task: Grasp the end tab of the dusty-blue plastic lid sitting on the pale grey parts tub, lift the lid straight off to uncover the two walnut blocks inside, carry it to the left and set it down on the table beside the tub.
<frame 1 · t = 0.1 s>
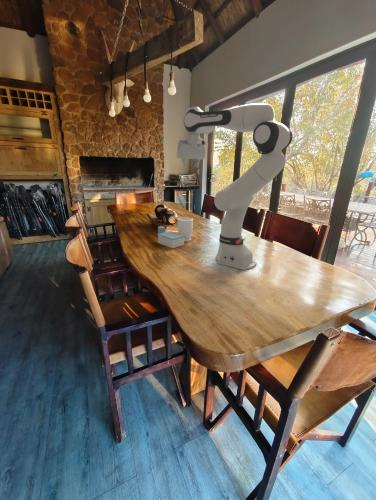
hand: (191, 167, 136), 48 cm above the table, fingers open, 8 cm apart
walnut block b: (168, 242, 156), point 1 cm above the table, touching tub
lid: (171, 235, 152), point 6 cm above the table, touching tub
jar: (185, 240, 164), on the table
tub: (171, 244, 154), on the table
walnut block a: (174, 245, 152), point 1 cm above the table, touching tub
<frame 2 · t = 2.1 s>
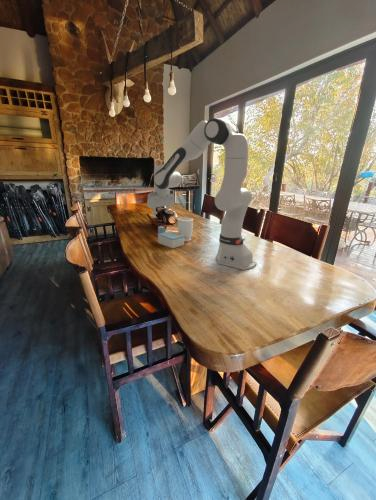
hand: (161, 213, 153), 19 cm above the table, fingers open, 8 cm apart
nothing on the table moved.
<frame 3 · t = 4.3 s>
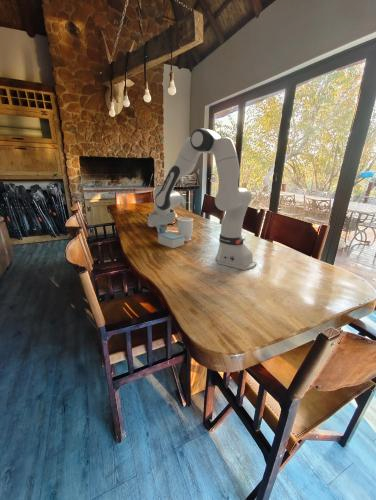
hand: (161, 231, 158), 7 cm above the table, fingers closed on lid, 3 cm apart
lid: (171, 235, 152), point 6 cm above the table, touching gripper, tub
everything else where it was.
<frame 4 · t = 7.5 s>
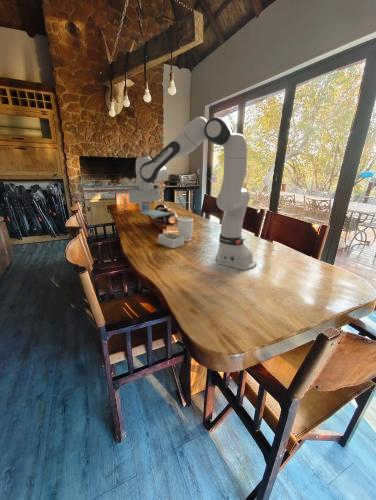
hand: (144, 209, 143), 23 cm above the table, fingers closed on lid, 3 cm apart
lid: (154, 213, 138), point 22 cm above the table, touching gripper
everything else where it was.
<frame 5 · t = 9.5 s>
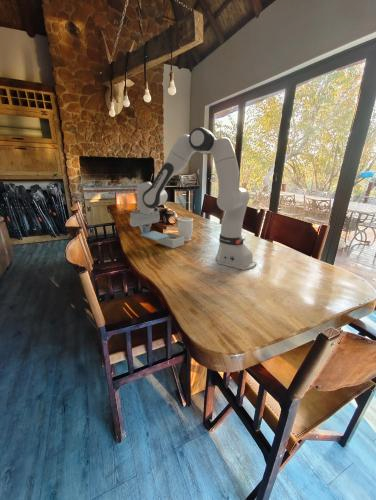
hand: (145, 231, 148), 10 cm above the table, fingers closed on lid, 3 cm apart
lid: (154, 236, 142), point 8 cm above the table, touching gripper
everything else where it was.
when the fingers open (4 cm above the table, at t = 11.1 s): lid drops 3 cm, on the table.
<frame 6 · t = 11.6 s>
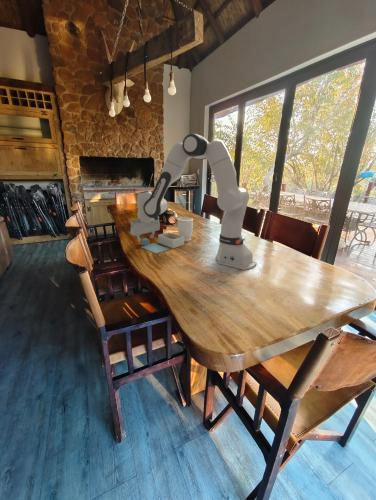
hand: (146, 239, 150), 4 cm above the table, fingers open, 8 cm apart
lid: (155, 248, 145), on the table
everything else where it was.
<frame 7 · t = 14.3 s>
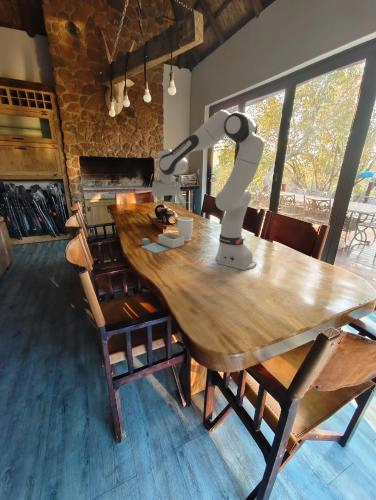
hand: (166, 202, 145), 27 cm above the table, fingers open, 8 cm apart
nothing on the table moved.
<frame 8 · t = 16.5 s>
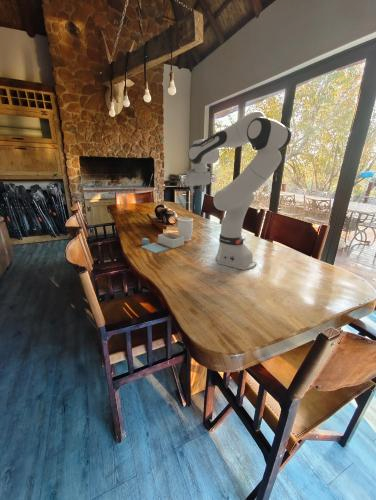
hand: (197, 192, 148), 33 cm above the table, fingers open, 8 cm apart
nothing on the table moved.
at the end: lid inside the target area (2.9 cm from its centre), on the table; lid touching table; the gripper is holding nothing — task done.
